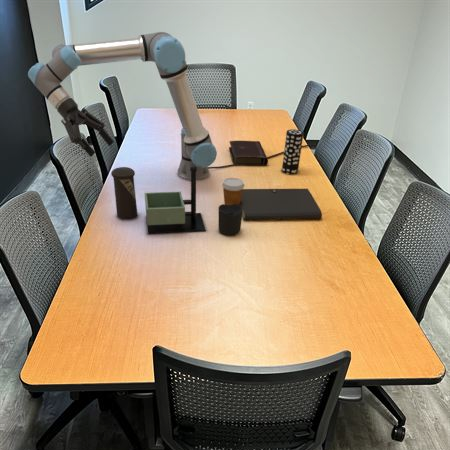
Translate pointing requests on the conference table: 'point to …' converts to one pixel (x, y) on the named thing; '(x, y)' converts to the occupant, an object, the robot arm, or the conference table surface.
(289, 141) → the white-spotted black cylinder
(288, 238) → the conference table surface
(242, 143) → the diary
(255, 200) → the file folder
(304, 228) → the conference table surface
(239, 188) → the disposable coffee cup
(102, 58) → the robot arm
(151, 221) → the green box on stand
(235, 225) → the pen holder
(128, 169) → the container
